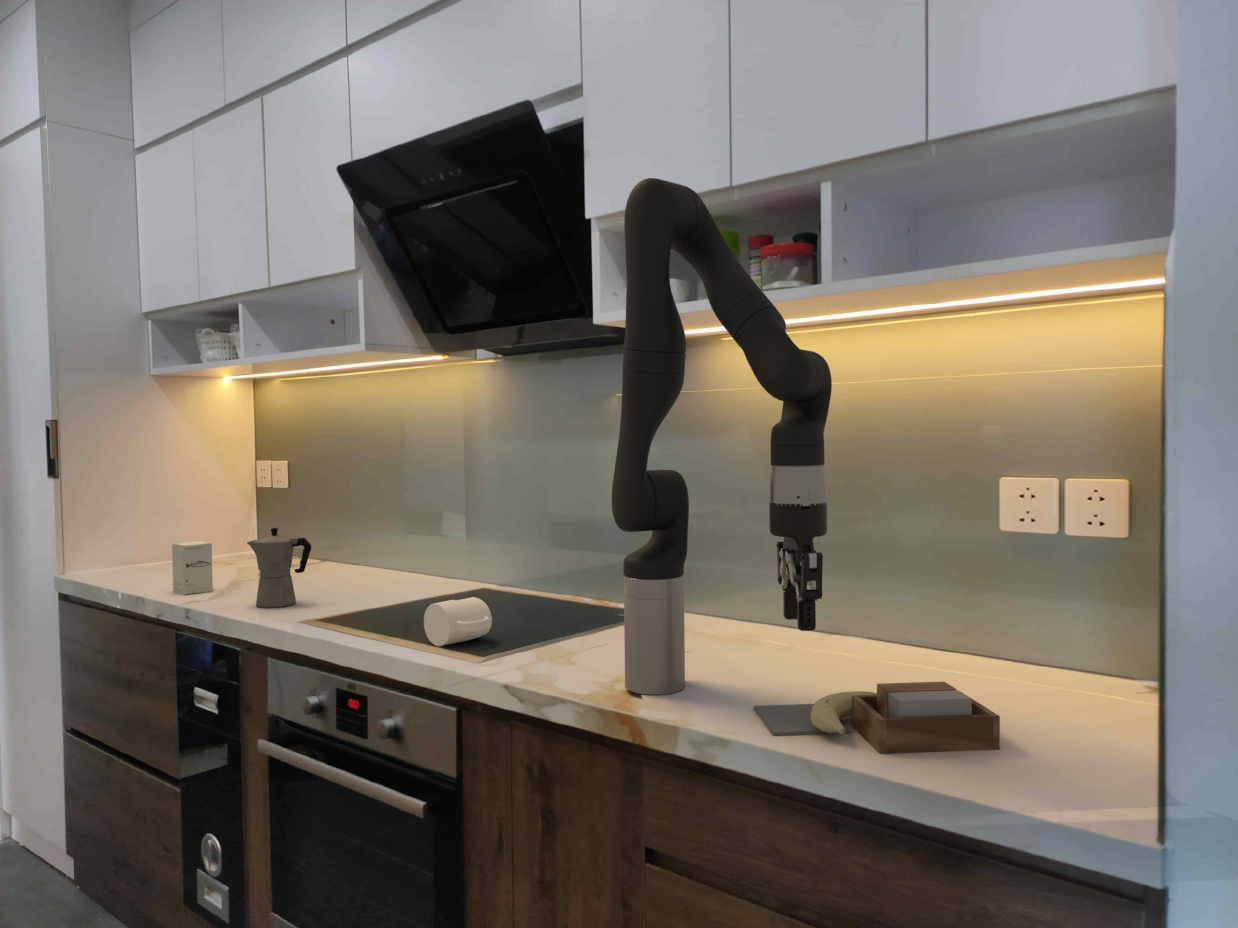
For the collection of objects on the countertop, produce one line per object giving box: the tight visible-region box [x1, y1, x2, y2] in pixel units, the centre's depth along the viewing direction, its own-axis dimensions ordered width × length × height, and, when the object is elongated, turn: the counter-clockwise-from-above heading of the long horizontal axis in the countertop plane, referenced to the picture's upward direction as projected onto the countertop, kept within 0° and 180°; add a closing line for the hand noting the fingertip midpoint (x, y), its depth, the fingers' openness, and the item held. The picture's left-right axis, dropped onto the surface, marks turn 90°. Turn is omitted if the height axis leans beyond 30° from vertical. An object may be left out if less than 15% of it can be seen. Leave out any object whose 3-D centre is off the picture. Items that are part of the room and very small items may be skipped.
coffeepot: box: [246, 527, 312, 609], centre depth 204 cm, size 15×9×18 cm, turn 85°
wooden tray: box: [851, 692, 1001, 755], centre depth 109 cm, size 10×15×4 cm
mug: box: [423, 596, 493, 647], centre depth 164 cm, size 12×9×8 cm
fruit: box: [811, 690, 877, 735], centre depth 114 cm, size 7×15×3 cm, turn 135°
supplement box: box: [171, 540, 214, 596], centre depth 222 cm, size 7×7×13 cm
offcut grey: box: [888, 689, 972, 718], centre depth 107 cm, size 4×9×6 cm, turn 94°
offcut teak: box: [876, 681, 958, 718], centre depth 111 cm, size 4×9×6 cm, turn 94°
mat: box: [753, 703, 851, 737], centre depth 116 cm, size 11×10×1 cm
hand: (799, 623), depth 116 cm, fingers open, 6 cm apart
